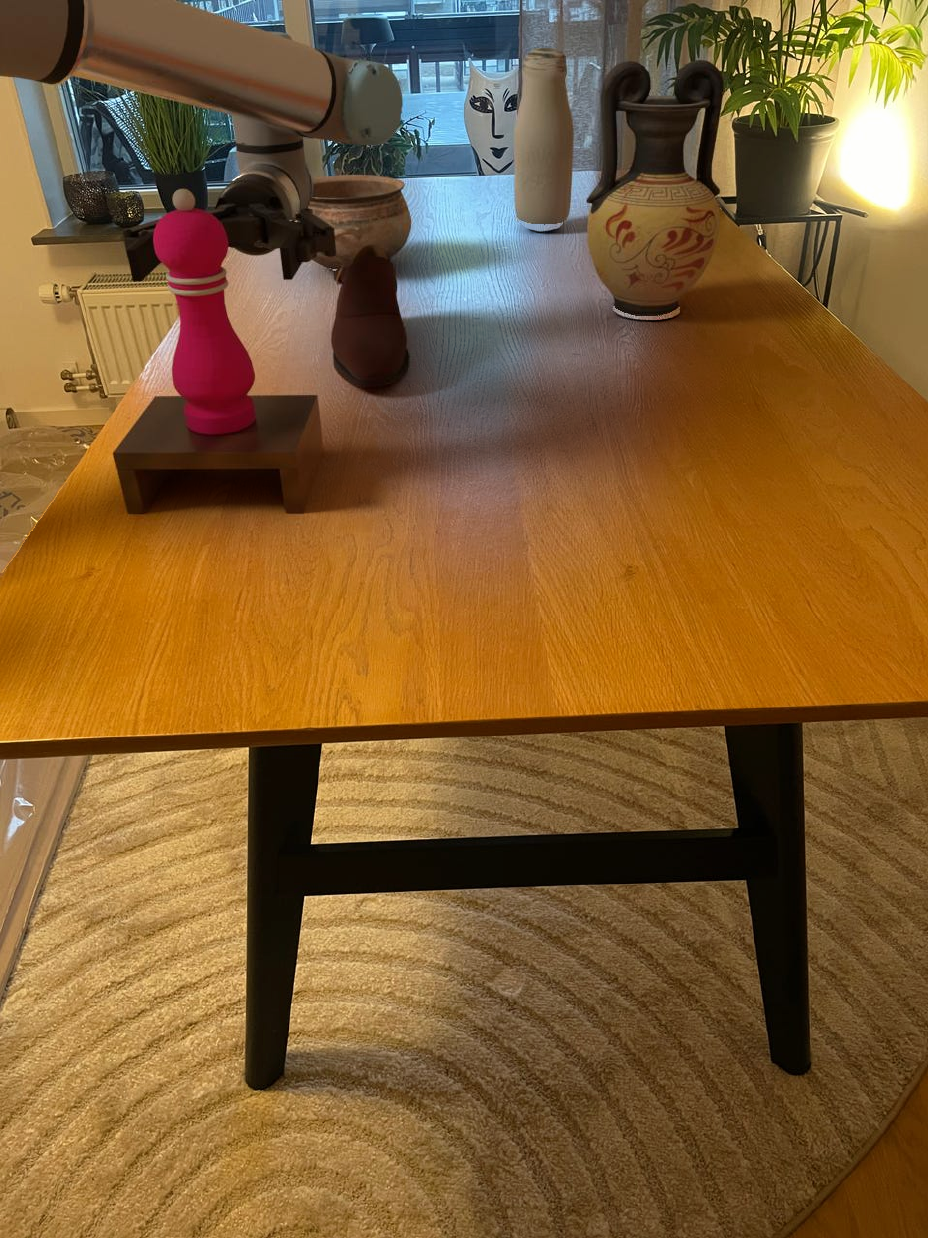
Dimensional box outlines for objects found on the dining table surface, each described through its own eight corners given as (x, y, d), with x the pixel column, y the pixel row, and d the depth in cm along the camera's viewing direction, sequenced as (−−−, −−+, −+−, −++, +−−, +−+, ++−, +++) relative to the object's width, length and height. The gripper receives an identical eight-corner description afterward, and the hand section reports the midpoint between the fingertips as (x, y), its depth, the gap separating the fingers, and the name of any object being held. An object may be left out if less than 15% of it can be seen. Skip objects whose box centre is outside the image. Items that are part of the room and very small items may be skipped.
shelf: (127, 513, 88) (112, 452, 84) (167, 452, 98) (155, 395, 95) (303, 513, 87) (295, 451, 84) (323, 451, 98) (317, 394, 94)
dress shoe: (331, 401, 109) (320, 296, 102) (336, 322, 132) (327, 232, 125) (413, 397, 109) (408, 292, 103) (404, 319, 132) (399, 229, 126)
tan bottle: (573, 224, 175) (580, 44, 159) (564, 238, 167) (572, 50, 151) (519, 222, 177) (521, 45, 161) (508, 236, 169) (509, 50, 153)
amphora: (675, 288, 142) (699, 51, 125) (733, 322, 129) (770, 62, 111) (562, 300, 138) (572, 57, 121) (611, 337, 125) (629, 70, 107)
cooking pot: (414, 289, 144) (410, 201, 137) (286, 294, 143) (275, 205, 136) (411, 247, 164) (408, 168, 157) (299, 250, 163) (291, 172, 156)
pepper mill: (178, 441, 86) (130, 200, 75) (184, 409, 92) (140, 182, 80) (260, 434, 87) (225, 195, 75) (261, 403, 93) (229, 177, 81)
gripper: (377, 245, 105) (353, 306, 88) (149, 248, 106) (81, 308, 88) (372, 170, 101) (345, 218, 83) (135, 174, 102) (60, 222, 84)
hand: (209, 265), depth 86 cm, fingers open, 13 cm apart
